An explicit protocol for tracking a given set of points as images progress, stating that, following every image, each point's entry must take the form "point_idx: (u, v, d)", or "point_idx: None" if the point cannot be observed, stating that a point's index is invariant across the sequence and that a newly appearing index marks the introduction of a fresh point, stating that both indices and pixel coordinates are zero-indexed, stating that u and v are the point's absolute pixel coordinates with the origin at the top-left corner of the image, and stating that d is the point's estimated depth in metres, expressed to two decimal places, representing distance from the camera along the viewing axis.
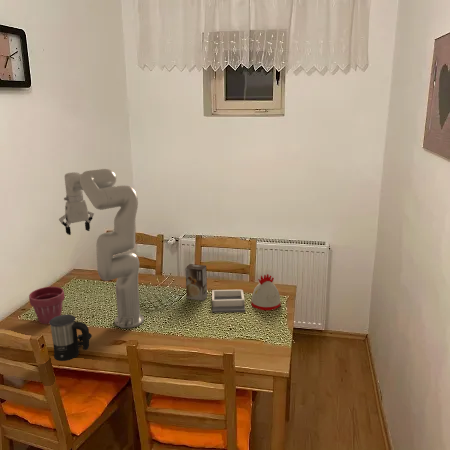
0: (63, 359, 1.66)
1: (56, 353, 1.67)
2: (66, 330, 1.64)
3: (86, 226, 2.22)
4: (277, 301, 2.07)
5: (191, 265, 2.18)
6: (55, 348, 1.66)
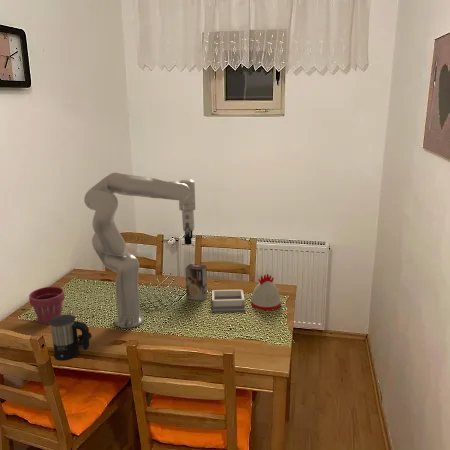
0: (63, 359, 1.67)
1: (56, 353, 1.67)
2: (66, 330, 1.64)
3: None
4: (277, 301, 2.07)
5: (191, 265, 2.18)
6: (55, 348, 1.66)
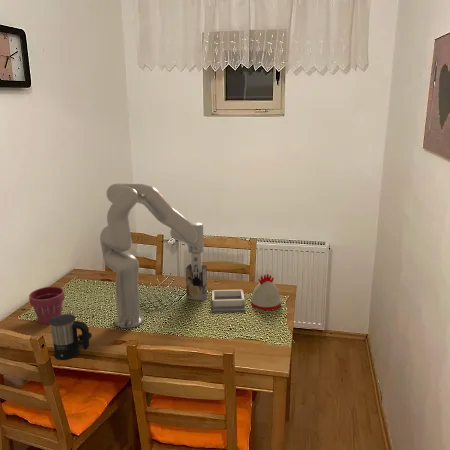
0: (63, 359, 1.67)
1: (56, 352, 1.67)
2: (66, 330, 1.65)
3: None
4: (277, 301, 2.07)
5: None
6: (55, 347, 1.67)
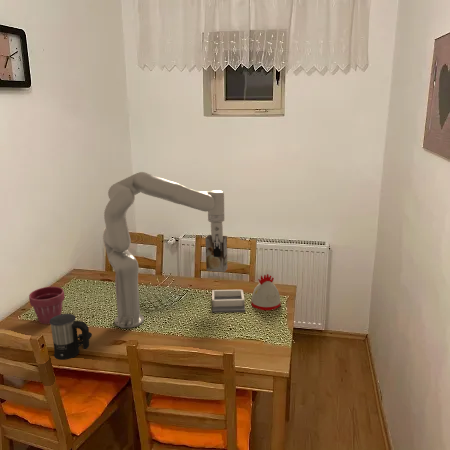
0: (63, 358, 1.67)
1: (56, 352, 1.67)
2: (66, 329, 1.65)
3: None
4: (277, 301, 2.07)
5: (211, 236, 2.09)
6: (55, 347, 1.67)
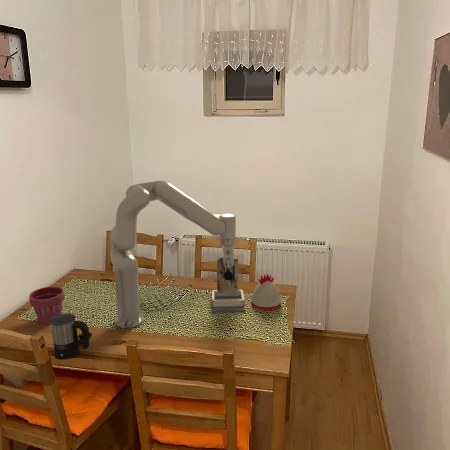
0: (63, 358, 1.67)
1: (56, 352, 1.67)
2: (66, 329, 1.65)
3: None
4: (277, 301, 2.07)
5: (222, 258, 2.10)
6: (55, 347, 1.67)
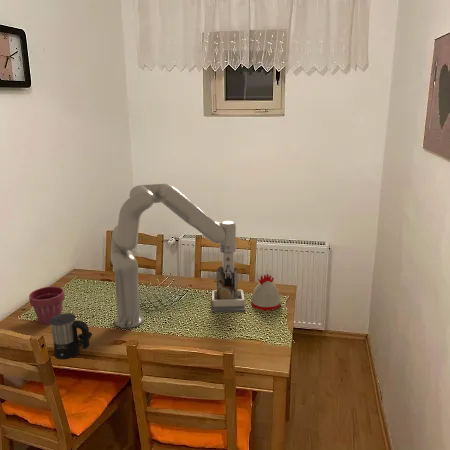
0: (63, 358, 1.67)
1: (56, 351, 1.68)
2: (66, 329, 1.65)
3: None
4: (277, 301, 2.07)
5: (221, 268, 2.11)
6: (55, 347, 1.67)
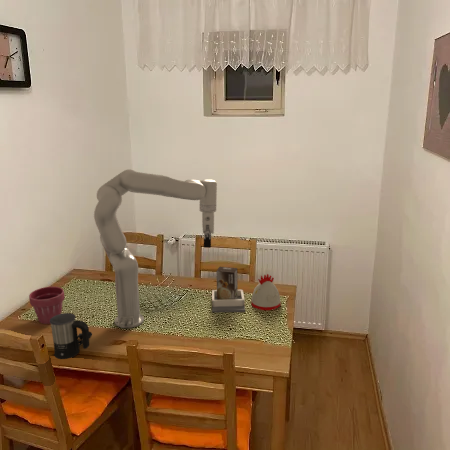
0: (63, 358, 1.68)
1: (56, 351, 1.68)
2: (66, 329, 1.65)
3: None
4: (277, 301, 2.07)
5: (222, 268, 2.11)
6: (55, 346, 1.67)
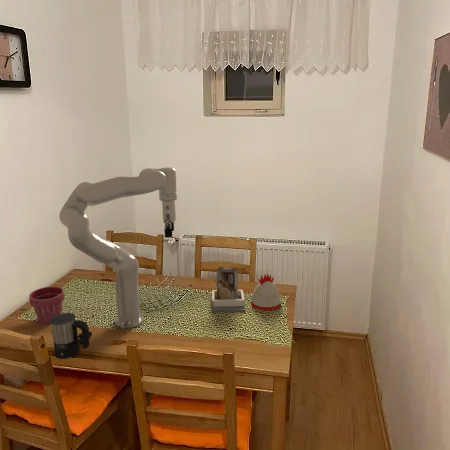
0: (63, 357, 1.68)
1: (56, 351, 1.68)
2: (66, 329, 1.65)
3: None
4: (277, 301, 2.07)
5: (222, 268, 2.11)
6: (55, 346, 1.68)
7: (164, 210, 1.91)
